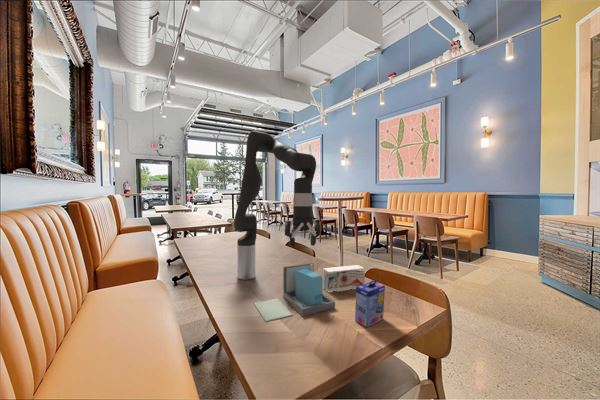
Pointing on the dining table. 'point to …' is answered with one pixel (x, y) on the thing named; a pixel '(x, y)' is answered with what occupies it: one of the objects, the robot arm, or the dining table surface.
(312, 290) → the blue rubber eraser
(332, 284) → the white printed box
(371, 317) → the ink cartridge box
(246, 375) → the dining table surface
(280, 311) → the mat
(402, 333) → the dining table surface
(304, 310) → the case
